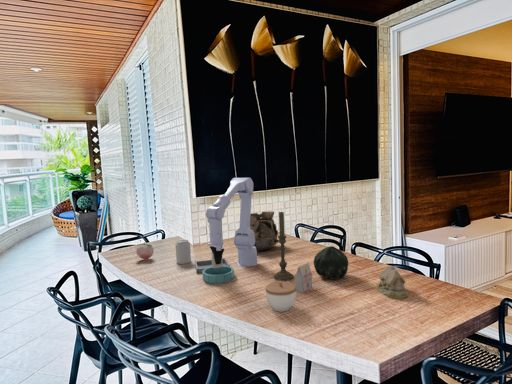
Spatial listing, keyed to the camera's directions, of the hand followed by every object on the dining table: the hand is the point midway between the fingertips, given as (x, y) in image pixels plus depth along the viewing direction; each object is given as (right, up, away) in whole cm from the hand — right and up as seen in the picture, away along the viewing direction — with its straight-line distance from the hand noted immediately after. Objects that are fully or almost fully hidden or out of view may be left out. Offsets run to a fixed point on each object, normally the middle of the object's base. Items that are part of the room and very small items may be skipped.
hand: (217, 262), depth 161 cm
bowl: (0, -7, +1) cm, 7 cm away
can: (-21, -6, +27) cm, 35 cm away
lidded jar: (+26, -10, -34) cm, 44 cm away
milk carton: (+37, -8, -17) cm, 41 cm away
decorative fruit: (-44, -6, +37) cm, 58 cm away
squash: (+51, -6, -3) cm, 51 cm away
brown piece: (+20, -2, +51) cm, 54 cm away
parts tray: (-4, -6, +16) cm, 18 cm away
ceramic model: (+70, -7, -23) cm, 74 cm away
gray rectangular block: (0, -2, 0) cm, 2 cm away
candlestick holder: (+30, -6, -1) cm, 30 cm away
